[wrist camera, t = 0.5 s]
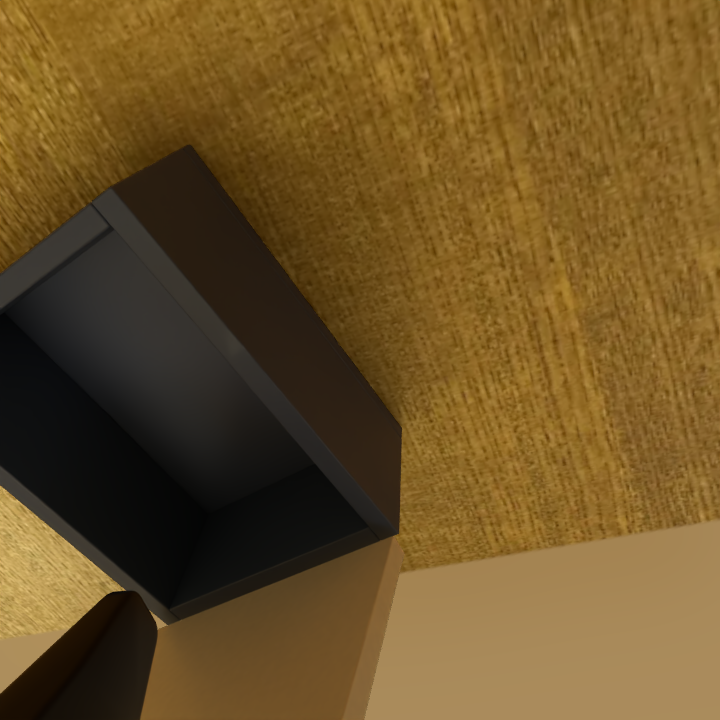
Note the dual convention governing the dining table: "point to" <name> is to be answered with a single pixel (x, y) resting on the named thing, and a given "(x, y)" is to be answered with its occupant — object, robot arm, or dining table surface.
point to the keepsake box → (185, 400)
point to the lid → (281, 646)
